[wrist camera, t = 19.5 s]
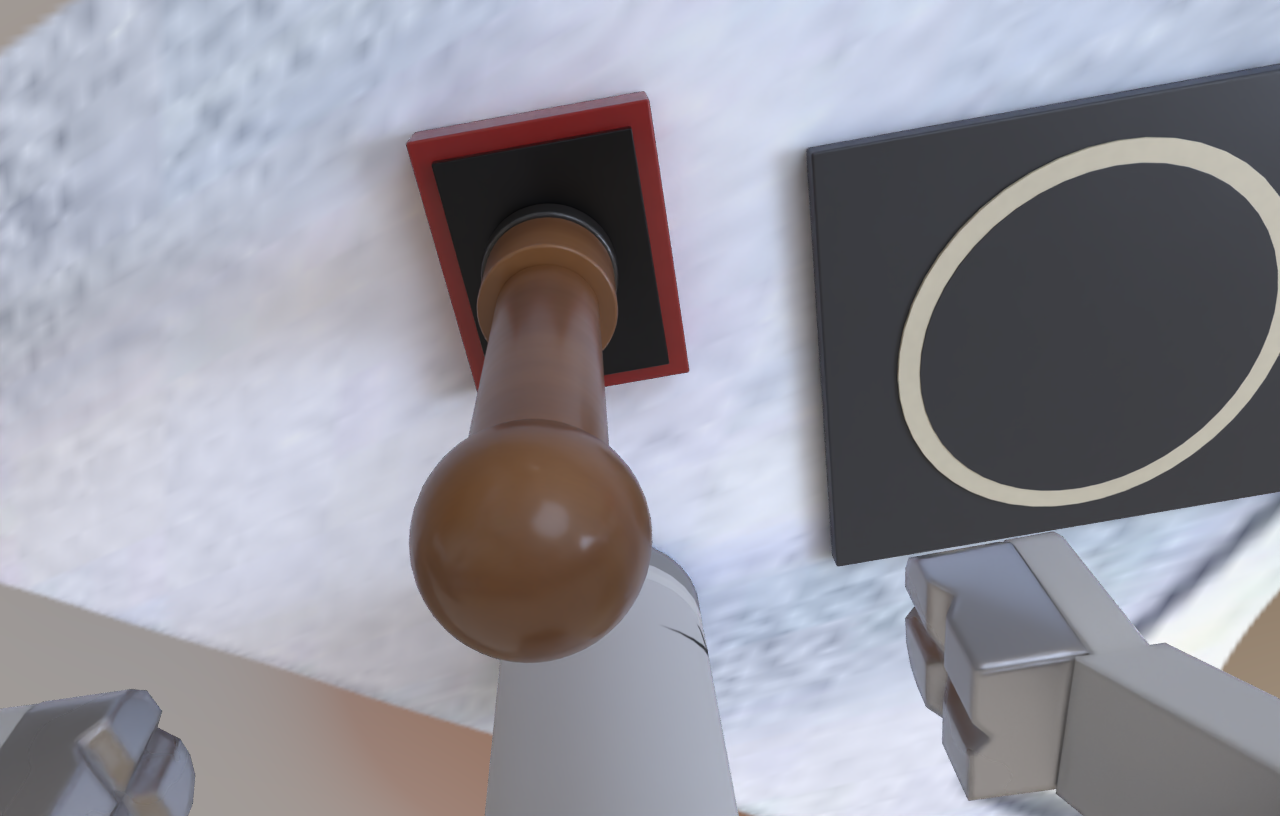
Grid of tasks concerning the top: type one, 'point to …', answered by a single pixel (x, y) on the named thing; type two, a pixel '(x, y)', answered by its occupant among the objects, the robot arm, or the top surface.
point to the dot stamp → (536, 458)
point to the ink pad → (567, 175)
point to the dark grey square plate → (1050, 315)
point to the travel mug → (617, 719)
